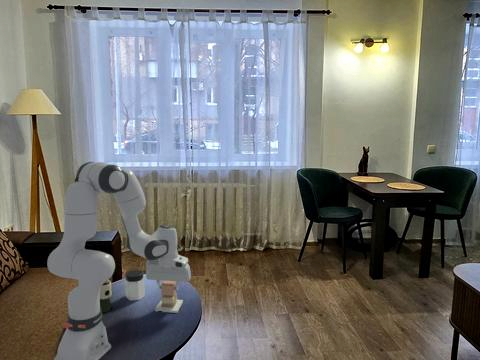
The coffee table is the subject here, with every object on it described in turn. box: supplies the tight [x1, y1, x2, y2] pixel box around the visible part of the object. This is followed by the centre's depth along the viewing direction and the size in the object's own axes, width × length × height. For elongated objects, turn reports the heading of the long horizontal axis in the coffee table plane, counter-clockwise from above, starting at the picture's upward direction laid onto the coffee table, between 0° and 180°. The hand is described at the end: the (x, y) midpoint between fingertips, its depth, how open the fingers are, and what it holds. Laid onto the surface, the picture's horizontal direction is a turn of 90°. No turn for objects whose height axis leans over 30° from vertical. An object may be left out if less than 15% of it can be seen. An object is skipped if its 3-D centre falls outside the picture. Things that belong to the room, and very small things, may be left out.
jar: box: [124, 269, 146, 301], centre depth 195 cm, size 9×8×12 cm
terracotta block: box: [160, 280, 177, 296], centre depth 185 cm, size 6×6×4 cm
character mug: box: [100, 279, 113, 313], centre depth 182 cm, size 11×7×13 cm, turn 170°
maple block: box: [160, 292, 178, 308], centre depth 186 cm, size 6×6×4 cm
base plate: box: [154, 299, 184, 314], centre depth 187 cm, size 10×10×1 cm
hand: (168, 288), depth 185 cm, fingers closed on terracotta block, 5 cm apart
